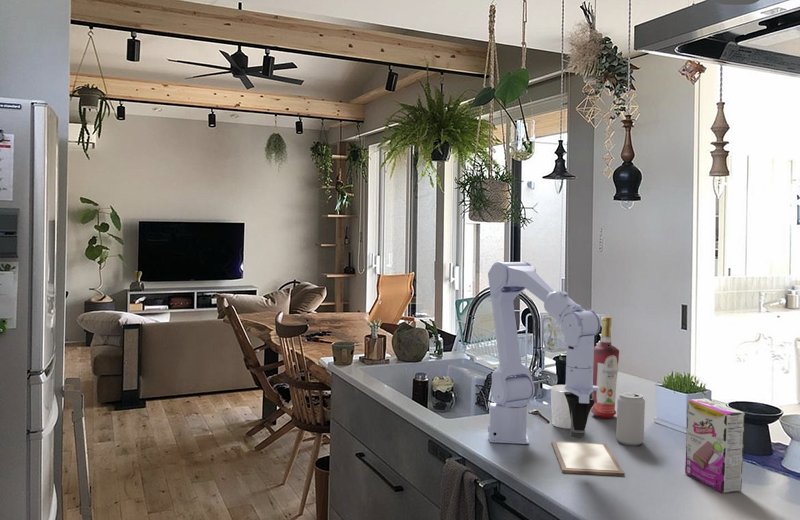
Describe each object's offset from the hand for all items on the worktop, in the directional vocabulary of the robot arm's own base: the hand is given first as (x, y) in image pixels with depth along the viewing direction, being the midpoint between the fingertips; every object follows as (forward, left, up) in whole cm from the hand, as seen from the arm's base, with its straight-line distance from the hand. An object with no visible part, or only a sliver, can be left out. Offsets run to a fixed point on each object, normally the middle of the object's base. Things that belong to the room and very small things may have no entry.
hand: (578, 427), depth 142 cm
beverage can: (+16, +20, -9) cm, 27 cm away
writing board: (+3, +6, -9) cm, 11 cm away
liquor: (+14, +42, -9) cm, 45 cm away
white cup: (+2, +32, -9) cm, 33 cm away
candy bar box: (+27, -4, -9) cm, 29 cm away
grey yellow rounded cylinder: (0, 0, -2) cm, 2 cm away
